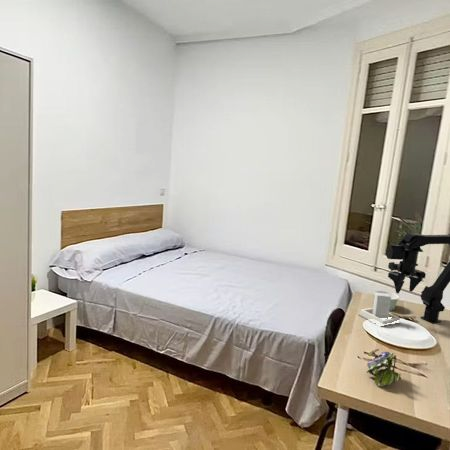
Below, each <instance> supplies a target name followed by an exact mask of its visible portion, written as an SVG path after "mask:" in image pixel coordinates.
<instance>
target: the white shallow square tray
mask: <svg viewBox="0 0 450 450" xmlns="http://www.w3.org/2000/svg"><path fill="white" fill-rule="evenodd" d="M372 313H373V307H368V308H363V309H362V308H361V309H360V311H359V314H358V317H361V318H363V319H364V320H365V321H368V319H375V320H377V321H379V322H380V323H382V324H387V323H392V322H394V321H397V320H401V318H400V317H399V316H396V315H394V314H392V313H390V312H389V315H388V317H392V318H391V319H385V320H382V319H380V318H378V317H376V316H374V315H372Z"/></svg>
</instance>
